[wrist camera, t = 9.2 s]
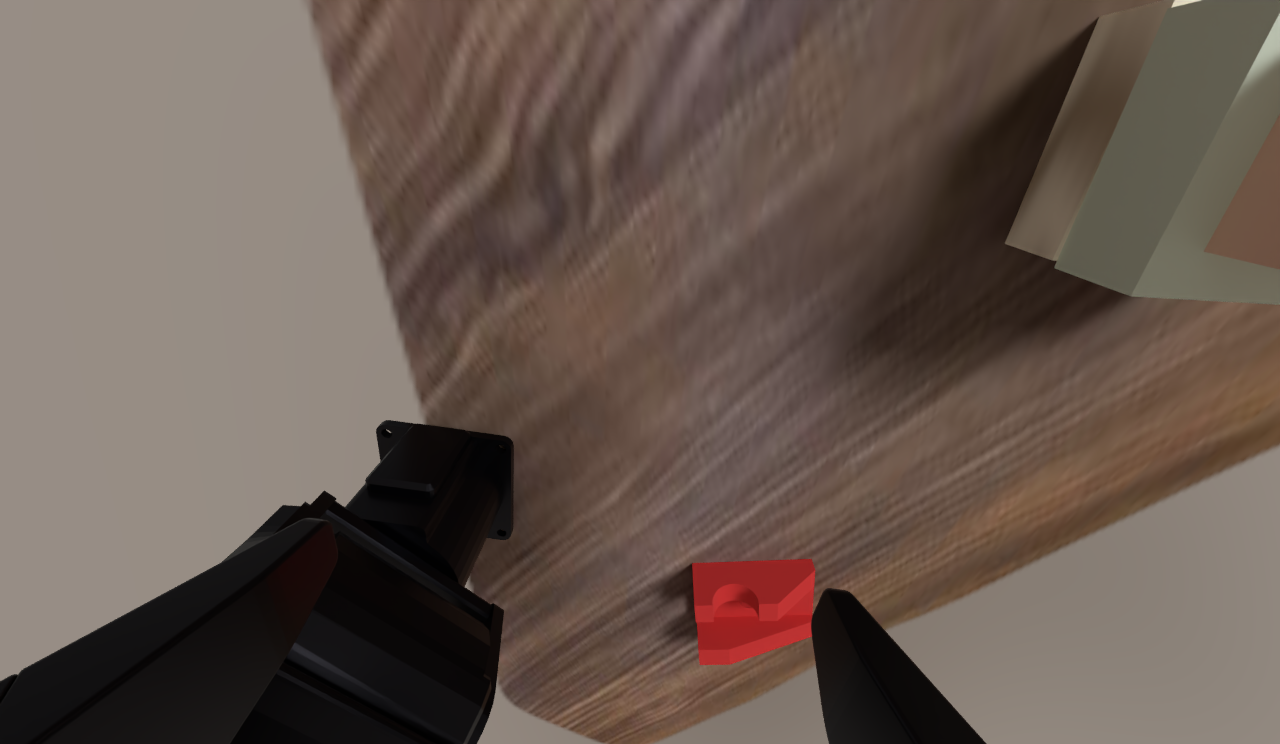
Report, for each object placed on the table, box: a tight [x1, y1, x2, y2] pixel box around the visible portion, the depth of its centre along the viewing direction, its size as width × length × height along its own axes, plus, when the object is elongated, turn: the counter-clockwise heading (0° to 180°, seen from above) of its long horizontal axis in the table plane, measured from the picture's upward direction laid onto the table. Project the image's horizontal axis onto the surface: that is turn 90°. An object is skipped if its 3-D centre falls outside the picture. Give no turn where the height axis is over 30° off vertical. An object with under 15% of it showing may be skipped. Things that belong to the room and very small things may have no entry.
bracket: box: [692, 559, 815, 665], centre depth 26 cm, size 6×5×3 cm
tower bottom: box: [1005, 0, 1201, 261], centre depth 16 cm, size 7×7×3 cm
